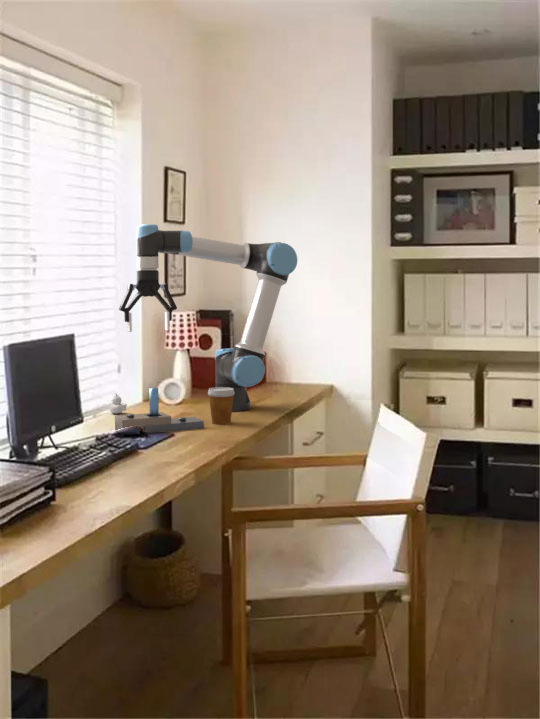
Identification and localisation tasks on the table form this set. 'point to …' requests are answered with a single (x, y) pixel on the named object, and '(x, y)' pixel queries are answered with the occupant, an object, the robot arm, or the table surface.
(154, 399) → the pin
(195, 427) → the grey fixture block
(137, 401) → the table surface
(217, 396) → the disposable coffee cup
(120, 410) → the rubber duck
